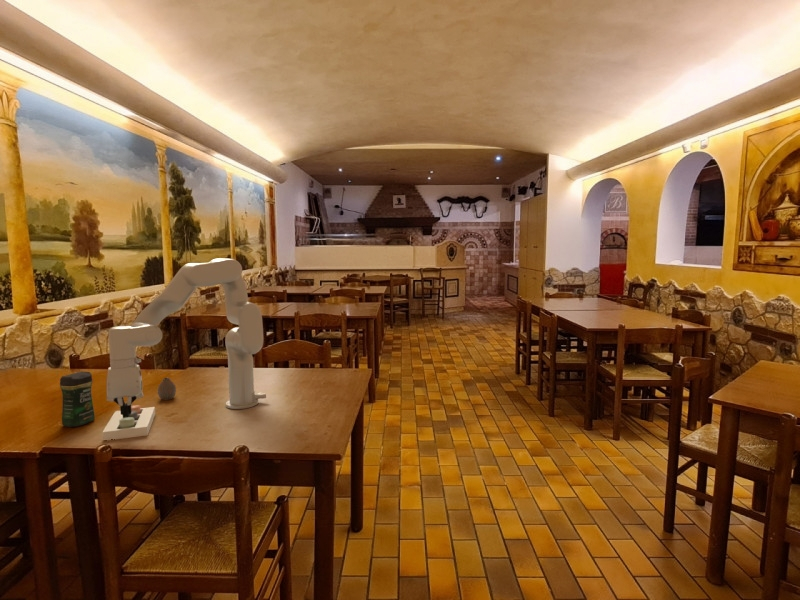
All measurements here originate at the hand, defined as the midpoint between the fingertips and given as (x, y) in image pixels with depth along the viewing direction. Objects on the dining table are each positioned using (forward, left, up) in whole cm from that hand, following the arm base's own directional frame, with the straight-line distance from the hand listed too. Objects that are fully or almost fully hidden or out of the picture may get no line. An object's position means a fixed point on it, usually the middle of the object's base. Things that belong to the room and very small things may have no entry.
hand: (126, 416), depth 157 cm
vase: (-9, -38, -7) cm, 40 cm away
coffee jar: (+18, -18, -7) cm, 26 cm away
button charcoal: (0, -7, -4) cm, 8 cm away
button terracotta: (0, -14, -4) cm, 15 cm away
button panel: (0, -7, -6) cm, 9 cm away
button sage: (0, 0, -4) cm, 4 cm away
